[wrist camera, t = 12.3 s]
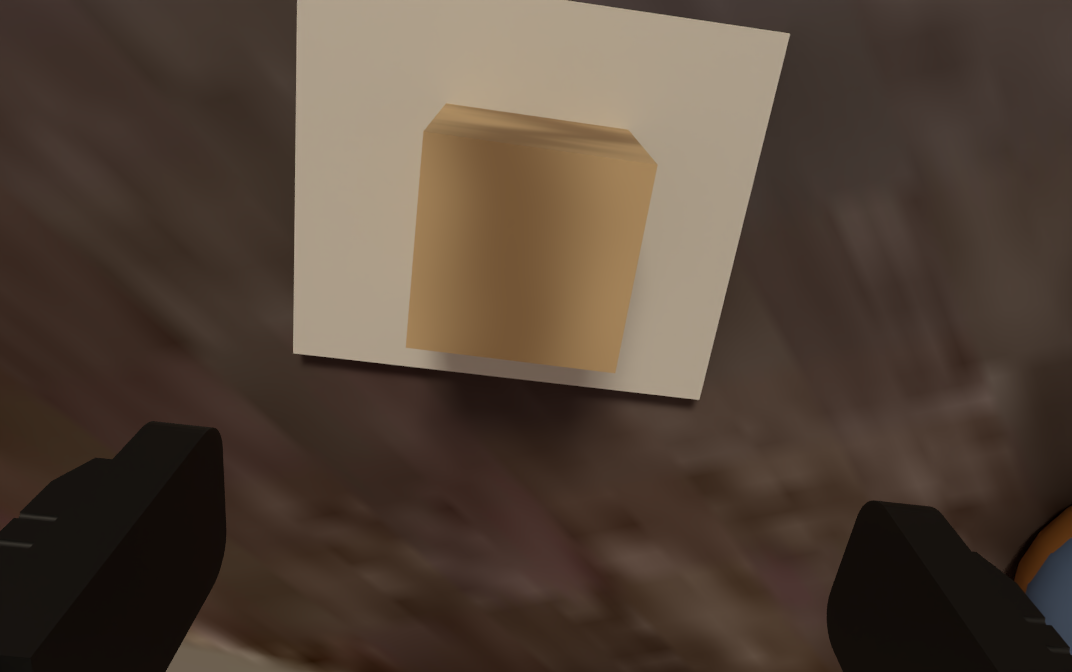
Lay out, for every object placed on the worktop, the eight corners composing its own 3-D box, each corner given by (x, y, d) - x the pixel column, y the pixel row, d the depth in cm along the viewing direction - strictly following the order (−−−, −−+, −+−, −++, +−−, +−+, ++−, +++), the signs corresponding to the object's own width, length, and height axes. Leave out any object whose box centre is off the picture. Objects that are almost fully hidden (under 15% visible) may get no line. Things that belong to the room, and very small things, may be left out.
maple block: (628, 129, 23) (657, 164, 18) (597, 299, 25) (615, 373, 20) (446, 102, 23) (423, 131, 18) (429, 277, 25) (405, 347, 20)
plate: (781, 32, 23) (790, 33, 22) (694, 389, 27) (699, 399, 27) (305, -38, 22) (297, -40, 21) (299, 343, 26) (293, 353, 26)
